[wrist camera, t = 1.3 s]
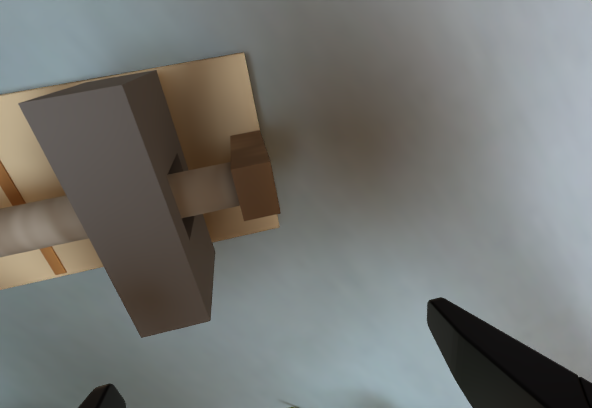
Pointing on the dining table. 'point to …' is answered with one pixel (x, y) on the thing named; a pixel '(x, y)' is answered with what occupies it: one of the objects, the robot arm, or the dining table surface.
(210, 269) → the collar
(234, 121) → the pipe stand
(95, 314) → the dining table surface
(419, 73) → the dining table surface
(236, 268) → the dining table surface
